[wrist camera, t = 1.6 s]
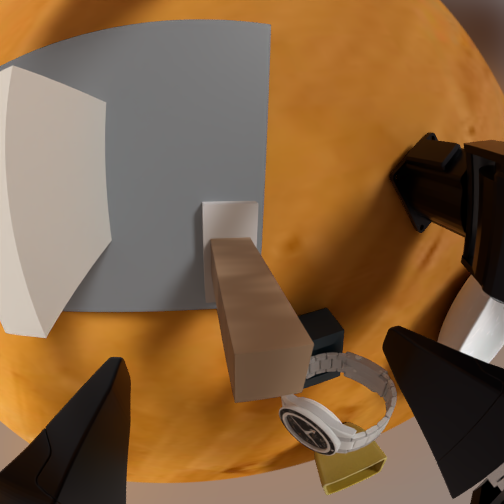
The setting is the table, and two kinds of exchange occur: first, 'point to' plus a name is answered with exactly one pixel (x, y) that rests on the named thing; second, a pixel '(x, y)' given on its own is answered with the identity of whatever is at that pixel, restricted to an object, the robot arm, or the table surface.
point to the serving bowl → (474, 323)
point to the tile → (48, 197)
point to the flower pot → (349, 465)
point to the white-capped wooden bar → (251, 307)
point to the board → (167, 147)
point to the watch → (325, 368)
